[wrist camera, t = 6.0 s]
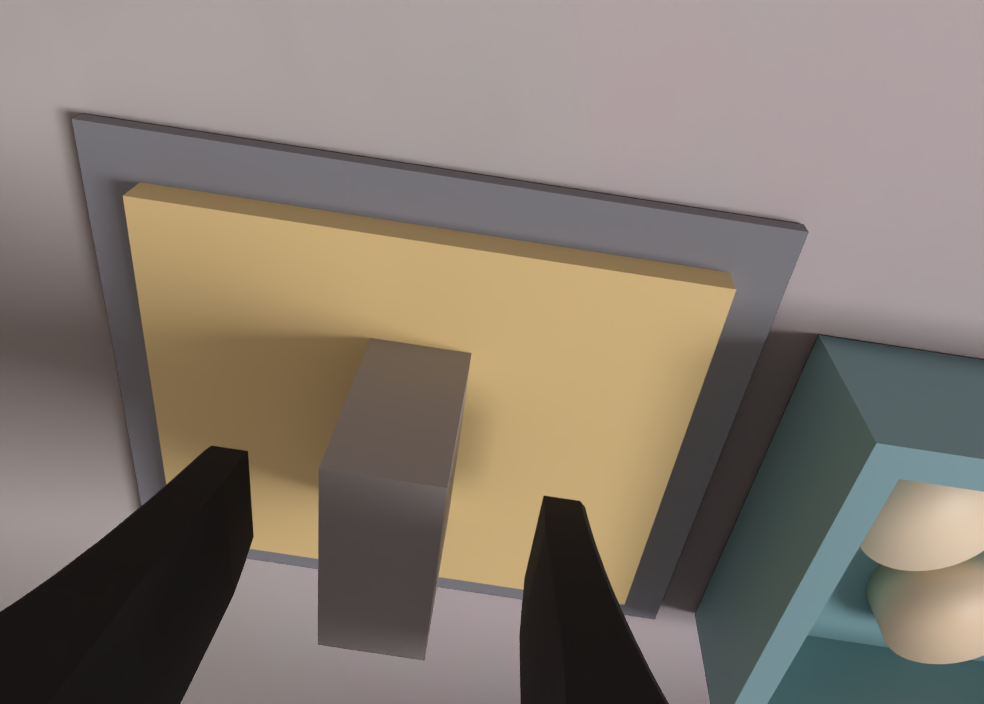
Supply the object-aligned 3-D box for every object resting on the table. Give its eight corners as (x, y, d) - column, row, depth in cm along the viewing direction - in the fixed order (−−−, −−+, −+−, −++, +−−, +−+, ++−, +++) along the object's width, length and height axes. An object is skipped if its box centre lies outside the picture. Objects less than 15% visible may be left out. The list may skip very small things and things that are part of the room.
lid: (729, 272, 13) (788, 420, 9) (622, 582, 17) (636, 758, 14) (139, 182, 13) (-11, 299, 9) (185, 517, 17) (94, 678, 14)
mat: (804, 224, 12) (808, 232, 12) (653, 608, 18) (654, 619, 18) (81, 113, 12) (71, 118, 12) (153, 534, 18) (147, 543, 18)
